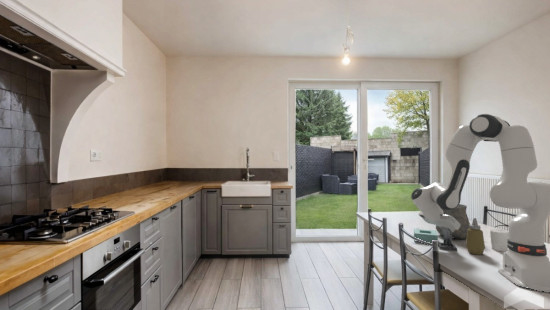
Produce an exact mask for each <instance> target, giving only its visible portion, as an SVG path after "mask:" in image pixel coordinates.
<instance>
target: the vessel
mask: <svg viewBox="0 0 550 310" xmlns="http://www.w3.org/2000/svg"><path fill="white" fill-rule="evenodd" d="M467 208H468V206H467V205H466V204H462V203H461V204H459V205H458V206H457V207H456V208H455V209H453V210H443V209H442V210H443V214H444V215H449V216H452V217H453V218H455V219H456V220H457V221H458V222H459V223H460V225H461V226H460V228H459V229H458V230H454V232H452V239H455V240H456V239H458V240H461V239H462V240H463V239H467V229H469V228H470V224H471V223H470V221H469V217H468V213H467ZM435 231H436V232H437V234H440V235H441V236H443V230H442V229H441V228H440V227H438V226H437V225H435Z"/></svg>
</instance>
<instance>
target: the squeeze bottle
mask: <svg viewBox="0 0 550 310" xmlns="http://www.w3.org/2000/svg"><path fill="white" fill-rule="evenodd" d="M465 239H466V240H465V246H466V249H467V253H469V254H473V255H478V256H481V255H483V253H484V250H485V249H486V245H485V239H484V232H483V230H482V229H481V225H479V224H478V221H477V218H476V217H473V219H472V222H471V223H470V228H469V229H467V238H465Z"/></svg>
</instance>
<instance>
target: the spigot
mask: <svg viewBox="0 0 550 310" xmlns="http://www.w3.org/2000/svg"><path fill="white" fill-rule="evenodd" d="M442 237H443V243H444V244H447V245H452V244H453V238H452V232H450V231H449V228H446V227H443V235H442Z"/></svg>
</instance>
